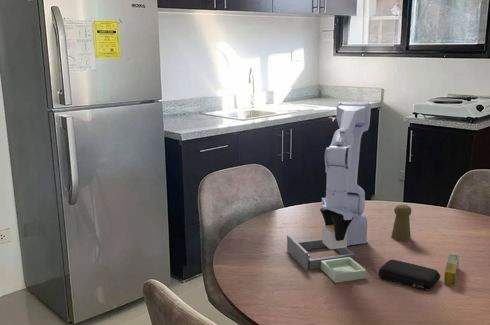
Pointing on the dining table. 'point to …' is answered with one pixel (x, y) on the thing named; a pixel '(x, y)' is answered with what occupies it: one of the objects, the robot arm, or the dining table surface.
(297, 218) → the dining table surface
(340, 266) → the bay
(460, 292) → the dining table surface
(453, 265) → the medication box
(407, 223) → the cork
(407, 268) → the carrying case or bag
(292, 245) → the case
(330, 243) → the block
